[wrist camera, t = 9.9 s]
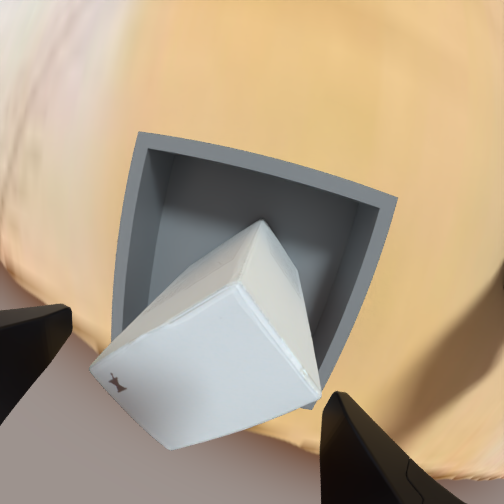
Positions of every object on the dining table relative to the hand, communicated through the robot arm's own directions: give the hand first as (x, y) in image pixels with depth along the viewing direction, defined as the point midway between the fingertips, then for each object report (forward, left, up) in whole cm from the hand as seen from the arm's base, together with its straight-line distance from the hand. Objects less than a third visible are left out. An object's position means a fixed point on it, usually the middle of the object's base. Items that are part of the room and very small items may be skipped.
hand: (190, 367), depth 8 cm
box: (0, 0, -11) cm, 11 cm away
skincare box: (0, 0, -11) cm, 11 cm away
